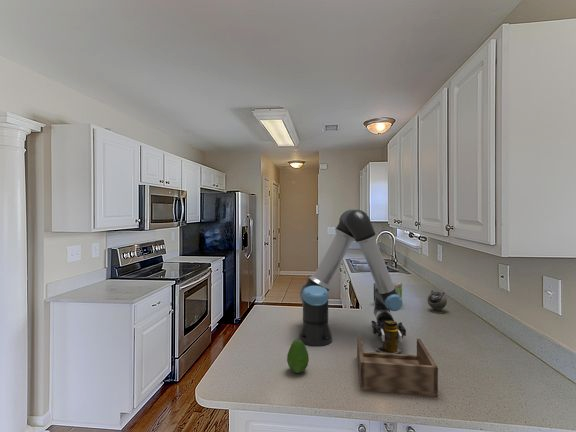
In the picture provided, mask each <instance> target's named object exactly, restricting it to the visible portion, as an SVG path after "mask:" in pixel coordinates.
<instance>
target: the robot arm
mask: <svg viewBox="0 0 576 432" xmlns="http://www.w3.org/2000/svg"><path fill="white" fill-rule="evenodd" d="M376 235H377V233H376V231H375V229H374V225H373V224H372V220H371V219H370V217H369V215H368V214H367V212H365V211H364V210H361V209H352V208H351V209H347V210H345V211H344V212H343V213H342V214H341V215H340V217H339V221H338V224H337V225H336V227H335V236H334V237H333V239H332V241H331V243H330V245H329V247H328V249H327V250H326V253H325V254H324V256H323V258H322V260H321V262H320V264H318V267H317V268H316V271H315V272H314V274H313V275H312V276H309V278H308V279H307V281H306V282H305V284H303V286H301V289H300V291H299V297H300V301H301V304H302V325H301V328H300V331H299V333H298V339H299V340H301V341H302V342H303V343H304V345H305V346H313V347H322V346H326V345H329V344H331V343H332V342H333V335H332V334H333V333H332V331H331V327H330V323H329V298H330V296H329V291H330V289H331V288H330V283H331V281H332V279H333V278H334V276H335V274H336V272H337V269H338V268H339V266H340V264H341V262H342V261H343V259H344V257H345V255H346V254H347V251H348V250H349V248H350V246H351V245H352V243H353V242H355V243H358V244H359V248H360V249H361V252H362V254H363V256H364V259H365V261H366V263H367V266H368V268H369V272H370V273H371V275H372V279H373V281H374V283H375V306H374V308H373V314H374V317H375V319H376V321H375V320H371V327H372V333H373V334H375V335H376V334H377V337H381V340H382V342H383V341H385V334H384V331H383V327H384V321H385V320H393V321H395V320H394V317H393V315H392V314H391V311H392V312H398V311H400V310H401V309H402V307H403V303H404V302H403V298H402V299H401V298H400V296H399V295H398V294H397V292H396V289H395V287H394V284H393V282H394V281H393V280H392V278H391V274H390V272H389V270H388V268H387V264H386V263H385V260H384V257H383V255H382V253H381V250H380V248H379V245H378V243H377V240H376ZM397 329H398V342H399V343H403V339H404V337H406V336H407V329H406V328H405V326H404V325H403V322H401V321H400V322H397Z"/></svg>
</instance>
